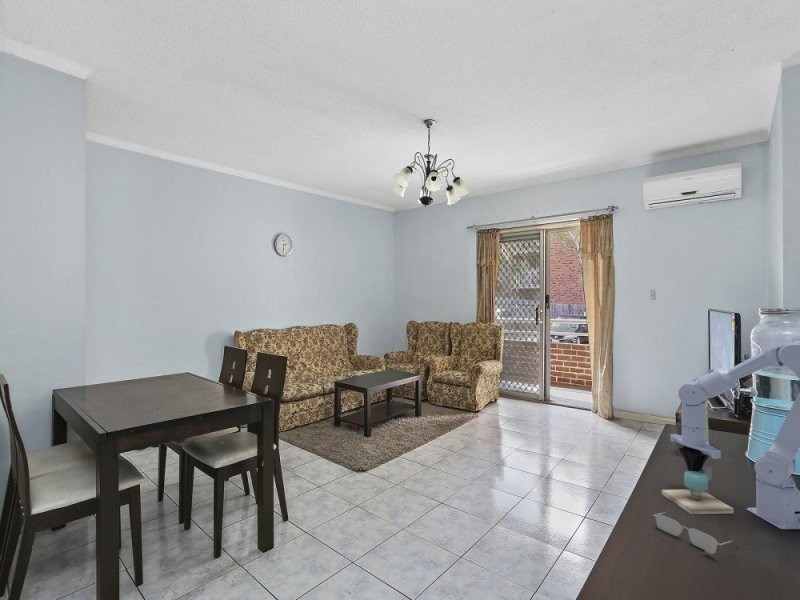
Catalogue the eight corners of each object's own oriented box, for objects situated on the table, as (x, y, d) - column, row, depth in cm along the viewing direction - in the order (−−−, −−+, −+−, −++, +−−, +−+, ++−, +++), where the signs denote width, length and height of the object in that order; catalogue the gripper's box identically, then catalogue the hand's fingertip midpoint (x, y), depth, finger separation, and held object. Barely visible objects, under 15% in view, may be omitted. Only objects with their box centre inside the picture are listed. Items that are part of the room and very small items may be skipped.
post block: (733, 513, 105) (733, 496, 105) (691, 514, 104) (691, 497, 104) (700, 493, 116) (700, 478, 116) (661, 494, 115) (661, 479, 115)
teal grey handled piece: (703, 492, 107) (703, 480, 107) (681, 486, 111) (681, 473, 111) (720, 481, 113) (720, 469, 113) (698, 475, 117) (698, 464, 117)
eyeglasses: (652, 527, 99) (652, 510, 99) (672, 519, 103) (672, 503, 103) (720, 559, 87) (720, 540, 87) (739, 548, 90) (739, 530, 90)
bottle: (679, 457, 143) (679, 413, 143) (674, 451, 149) (673, 409, 149) (699, 458, 141) (699, 414, 141) (693, 452, 147) (692, 410, 147)
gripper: (730, 433, 109) (731, 485, 109) (685, 418, 124) (685, 464, 124) (707, 435, 108) (707, 487, 108) (664, 419, 123) (664, 466, 123)
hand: (694, 475), depth 116 cm, fingers closed
